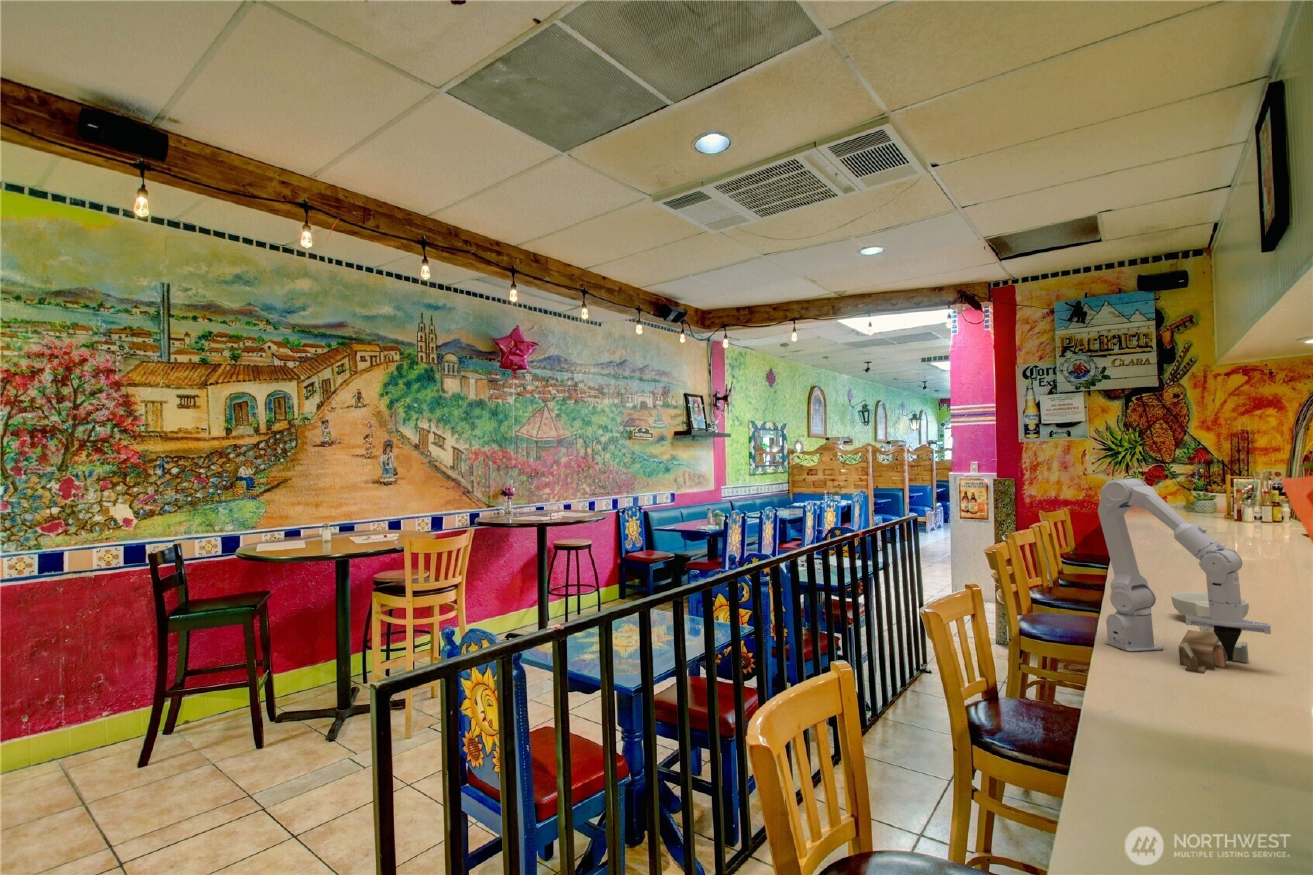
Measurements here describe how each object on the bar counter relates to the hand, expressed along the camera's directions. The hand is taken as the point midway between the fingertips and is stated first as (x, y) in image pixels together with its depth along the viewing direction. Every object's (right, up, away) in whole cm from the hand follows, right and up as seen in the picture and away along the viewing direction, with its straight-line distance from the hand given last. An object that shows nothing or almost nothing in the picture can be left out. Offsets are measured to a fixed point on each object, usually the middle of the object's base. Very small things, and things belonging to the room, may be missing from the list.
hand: (1230, 659), depth 143 cm
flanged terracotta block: (-3, -2, +3) cm, 5 cm away
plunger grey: (+4, -2, +5) cm, 7 cm away
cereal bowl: (+29, -3, +37) cm, 47 cm away
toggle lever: (-9, 0, -1) cm, 9 cm away
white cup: (+14, -2, +18) cm, 22 cm away
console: (-2, -2, +5) cm, 6 cm away
